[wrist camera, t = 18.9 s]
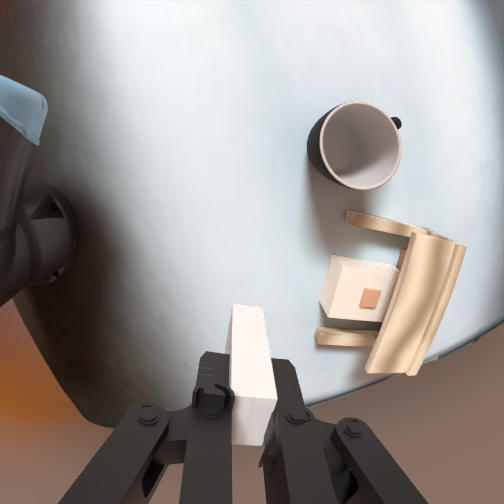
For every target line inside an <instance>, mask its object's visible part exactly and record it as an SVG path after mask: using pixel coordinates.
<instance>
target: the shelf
mask: <svg viewBox="0 0 504 504" xmlns="http://www.w3.org/2000/svg"><path fill="white" fill-rule="evenodd" d="M345 221H346V222H347V223H349V224H351V225H354V226H359V227H364V228H369V229H374V230H378V231H383V232H388V233H392V234H397V235H402V236H406V237H410V240H409V244H408V247H407V250H406V249H401V252H400V256H399V259H398V263H397V266H396V268H397V269H398V270H400V275H399V278H398V281H397V284H396V287H395V290H394V293H393V296H392V299H391V302H390V305H389V308H388V310H387V313H386V316H385V319H384V321H383V322H382V323H383V324H382V327H381V329H380V331H370V330H355V329H341V328H328V327H317V328H316V331H315V338H316V340H317V342H318V344H324V345H341V346H362V347H373V349H372V352H371V354H370V356H369V359H368V361H367V363H366V366H365V370H366V372H367V373H402V372H406V374H407V375H408V376H411V375H416V374H417V372H418V370H419V368H420V366H421V364H422V362H423V360H424V358H425V356H426V354H427V352H428V350H429V347H430V345H431V343H432V341H433V339H434V336H435V334H436V332H437V330H438V327H439V325H440V322H441V320H442V318H443V315H444V313H445V310H446V308H447V305H448V302H449V300H450V297H451V294H452V292H453V289H454V286H455V283H456V280H457V277H458V274H459V271H460V268H461V265H462V262H463V258H464V255H465V252H466V248H467V247H465V246H463V245H461V244H459V243H457V242H455V241H452V240H450V239H448V238H446V237H444V236H442V235H439V234H437V233H435V232H433V231H431V230H428V229H426V228H422V227H418V226H414V225H410V224H406V223H402V222H398V221H394V220H390V219H385V218H381V217H377V216H372V215H368V214H363V213H359V212H354V211H350V210H347V214H346V219H345Z"/></svg>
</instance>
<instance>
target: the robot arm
mask: <svg viewBox="0 0 504 504" xmlns="http://www.w3.org/2000/svg"><path fill="white" fill-rule="evenodd" d="M47 111H48V106H47V102H46V99H45V98H44V96H43V95H41V94H40V93H38V92H36V91H34V90H32V89H30V88H28V87H26V86H24V85H22V84H19V83H17V82H15V81H13V80H11V79H8V78H6V77H4V76H1V75H0V307H1V306H2V305H4V304H5V303H6V302H7V301H9V300H10V299H11V298H12V297H14V296H15V295H16V294H18V293H19V292H20V291H22V290H23V289H24V288H26V287H29V286H36V285H42V284H48V283H51V282H53V281H55V280H57V279H58V278H60V277H61V276H62V275H64V274H65V273H66V272H67V271H68V270H69V269H70V267H71V266H72V264H73V262H74V260H75V257H76V254H77V250H78V227H77V222H76V219H75V216H74V213H73V210H72V208H71V206H70V204H69V203H68V201H67V200H66V198H65V197H64V196H63V195H62V193H60V192H59V191H58V190H57V189H56V188H54V187H53V186H51V185H49V184H46V183H42V182H34V183H29V184H26V181H27V178H28V174H29V171H30V167H31V164H32V161H33V157H34V154H35V151H36V148H37V146H39V143H40V141H39V138H40V134H41V131H42V127H43V124H44V121H45V118H46V115H47ZM263 440H264V442H265V449H264V452H263V455H262V457H261V460H260V462H259V467H262V465H263V470H264V481H265V493H266V502H267V504H428V503H427V501H426V500H425V499H424V498H423V496H422V495H421V494H420V492H419V491H418V490H417V488H416V487H415V486H414V485H413V483H412V482H411V481H410V480H409V478H408V477H407V476H406V474H405V473H404V472H403V471H402V469H401V468H400V467H399V465H398V464H397V463H396V462H395V460H394V459H393V458H392V456H391V455H390V454H389V452H388V451H387V450H386V449H385V447H384V446H383V445H382V443H381V442H380V441H379V439H378V438H377V437H376V436H375V434H374V433H373V431H372V430H371V429H370V428H369V426H368V425H367V424H366V423H365V422H363V421H361V420H359V419H357V418H351V417H350V418H344V419H342V420H340V421H339V422H338V423H337V425H335V424H331V423H327V422H322V421H320V420H317V419H315V418H314V416H313V414H312V412H310V411H309V410H308V409H307V408H305V405H304V401H303V397H302V393H301V390H300V386H299V384H298V378H297V374H296V370H295V367H294V366H293V365H292V364H291V362H290V361H289V360H286V359H274V358H271V356H270V350H269V344H268V338H267V332H266V326H265V320H264V314H263V308H262V307H256V306H248V305H241V304H234V303H233V306H232V312H231V318H230V324H229V330H228V336H227V343H226V352H225V354H222V353H215V352H208V351H206V352H205V353H204V354H203V355H202V357H201V358H200V363H199V369H198V375H197V381H196V386H195V388H194V390H193V396H192V403H191V405H190V406H188V407H187V408H185V409H182V410H179V411H170V412H166V411H165V410H164V408H162V407H161V406H159V405H157V404H153V403H139V404H136V405H134V406H133V407H132V408H131V409H130V410H129V411H128V412H127V414H126V415H125V416H124V418H123V419H122V420H121V421H120V423H119V424H118V425H117V427H116V428H115V429H114V431H113V432H112V433H111V435H110V436H109V437H108V439H107V440H106V441H105V442H104V444H103V445H102V446H101V448H100V449H99V450H98V452H97V453H96V454H95V456H94V457H93V458H92V459H91V461H90V462H89V463H88V465H87V466H86V467H85V469H84V470H83V471H82V473H81V474H80V475H79V477H78V478H77V479H76V481H75V482H74V483H73V484H72V486H71V487H70V488H69V490H68V491H67V492H66V494H65V495H64V496H63V498H62V499H61V500H60V501H59V503H58V504H148V503H149V501H150V499H151V497H152V495H153V494H154V492H155V490H156V488H157V486H158V484H159V482H160V480H161V479H162V477H163V475H164V473H165V471H166V469H167V467H168V465H169V464H178V463H184V467H183V476H182V483H181V492H180V500H179V504H232V444H238V445H253V446H262V443H263Z"/></svg>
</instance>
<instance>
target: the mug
mask: <svg viewBox="0 0 504 504" xmlns="http://www.w3.org/2000/svg"><path fill="white" fill-rule="evenodd" d="M401 126H402V124H401V121H400V119H399V118H397V117H392V118H390V117H389V116H388V115H387V114H386V113H385V112H384V111H383V110H381V109H380V108H378V107H377V106H375V105H373V104H370V103H366V102H361V101H353V102H347V103H344V104H341V105H339V106H337V107H335V108H333V109H332V110H330V111H329V112H327V113H326V114H325V115H324V116H322V117H321V118H320V119H319V120H318V121H317V123H316V124H315V125H314V126H313V128H312V130H311V131H310V134H309V136H308V141H307V151H308V156H309V158H310V160H311V162H312V164H313V165H314V167H315V168H316V169H317V170H318V171H319V172H320V173H321V174H322V175H324V176H325V177H326V178H328V179H330V180H331V181H333V182H335V183H337V184H339V185H342V186H344V187H347V188H350V189H355V190H371V189H375V188H378V187H380V186H382V185H383V184H385V183H386V182H387V181H389V180H390V179H391V177H392V176H393V175H394V173H395V172H396V170H397V168H398V166H399V163H400V159H401V149H402V148H401V139H400V135H399V132H398V129H400V128H401Z"/></svg>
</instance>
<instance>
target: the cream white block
mask: <svg viewBox="0 0 504 504" xmlns="http://www.w3.org/2000/svg"><path fill="white" fill-rule="evenodd" d="M399 275H400V270H398V269H397V268H396V267H395V266H393V265H390V264H384V263H378V262H372V261H366V260H360V259H354V258H348V257H342V256H336V255H331V259H330V263H329V267H328V271H327V275H326V278H325V282H324V286H323V289H322V293H321V297H320V300H319V302H320V304H321V305H322V307H323V309H324V311H325V313H326V315H327V317H330V318H340V319H351V320H363V321H375V322H383V321H384V319H385V316H386V313H387V310H388V308H389V305H390V302H391V299H392V296H393V293H394V290H395V287H396V284H397V281H398V278H399Z"/></svg>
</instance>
